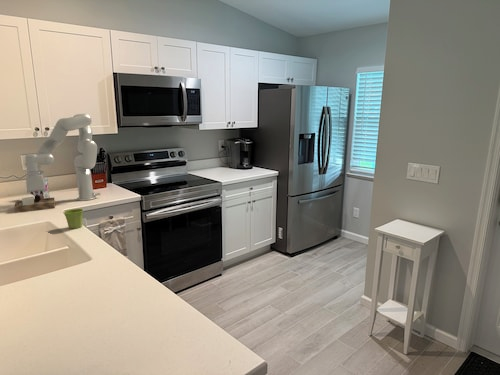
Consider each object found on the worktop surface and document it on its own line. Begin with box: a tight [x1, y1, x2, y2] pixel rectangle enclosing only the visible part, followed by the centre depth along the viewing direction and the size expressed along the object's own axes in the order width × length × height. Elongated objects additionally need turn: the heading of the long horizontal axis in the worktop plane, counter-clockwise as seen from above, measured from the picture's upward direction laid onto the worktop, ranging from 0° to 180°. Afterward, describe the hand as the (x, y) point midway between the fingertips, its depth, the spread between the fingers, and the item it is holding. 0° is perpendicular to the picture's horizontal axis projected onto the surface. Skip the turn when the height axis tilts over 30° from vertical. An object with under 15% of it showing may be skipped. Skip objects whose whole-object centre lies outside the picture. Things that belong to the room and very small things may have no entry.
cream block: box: [21, 196, 35, 205], centre depth 221 cm, size 6×5×4 cm
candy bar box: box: [35, 176, 51, 199], centre depth 250 cm, size 11×5×16 cm, turn 62°
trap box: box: [14, 197, 56, 214], centre depth 223 cm, size 21×18×5 cm
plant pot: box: [62, 208, 85, 229], centre depth 176 cm, size 9×9×9 cm
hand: (37, 201), depth 224 cm, fingers closed
